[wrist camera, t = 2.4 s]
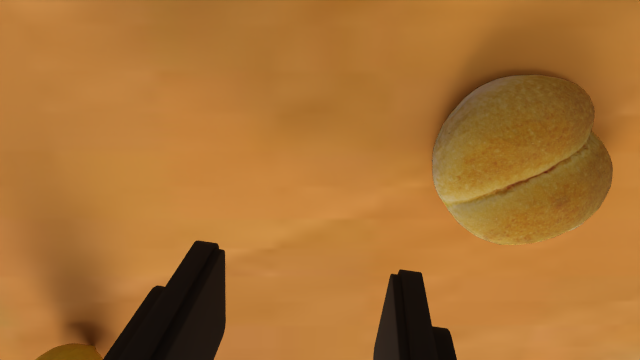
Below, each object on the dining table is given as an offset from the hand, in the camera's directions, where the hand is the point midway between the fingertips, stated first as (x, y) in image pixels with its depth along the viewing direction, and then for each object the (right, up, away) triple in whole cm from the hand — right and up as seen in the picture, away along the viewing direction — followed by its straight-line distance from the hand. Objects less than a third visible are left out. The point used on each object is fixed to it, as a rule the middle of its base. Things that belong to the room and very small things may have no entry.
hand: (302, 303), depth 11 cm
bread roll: (+11, +5, +12) cm, 17 cm away
